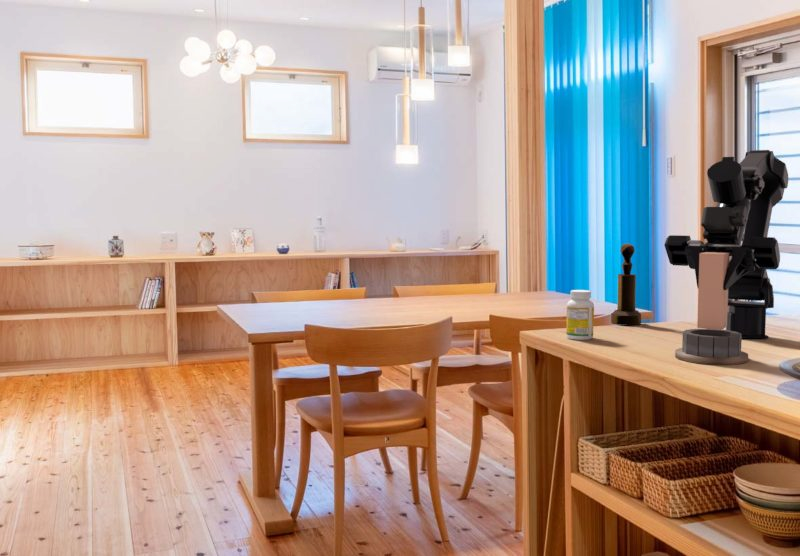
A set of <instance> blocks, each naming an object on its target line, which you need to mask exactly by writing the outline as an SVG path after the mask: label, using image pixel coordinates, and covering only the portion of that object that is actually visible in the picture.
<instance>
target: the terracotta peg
mask: <svg viewBox="0 0 800 556" xmlns="http://www.w3.org/2000/svg"><path fill="white" fill-rule="evenodd" d="M729 261H730V258H729V253H717V252H704V253H700V254H699V288H698V287H697V289H698V291H697V292H698V294H697V321H696V322H697V324H696V325H697V327H696V329H717V330H725V329H726V327H727V312H729V308H728V307H729V306H728V289H727V290H724V289H723V284H724V279H725V276H726V273H727V270H728V268H729Z"/></svg>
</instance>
